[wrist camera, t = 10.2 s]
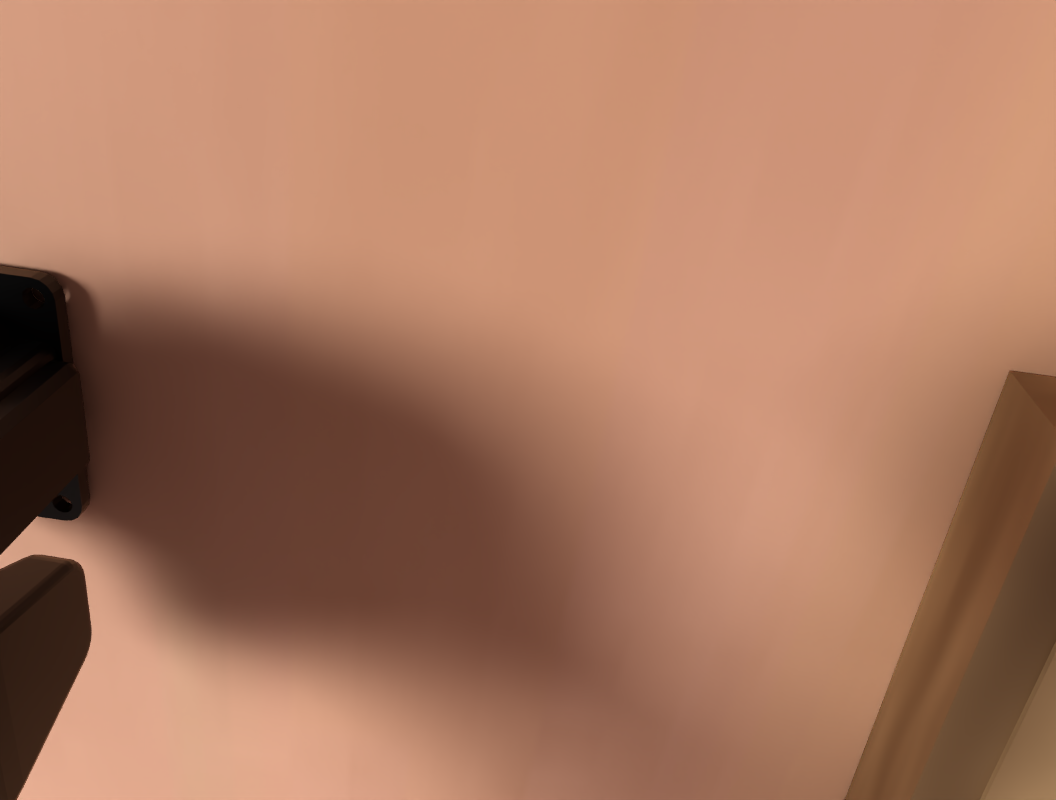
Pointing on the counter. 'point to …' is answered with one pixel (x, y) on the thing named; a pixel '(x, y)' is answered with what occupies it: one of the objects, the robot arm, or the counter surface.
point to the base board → (982, 631)
